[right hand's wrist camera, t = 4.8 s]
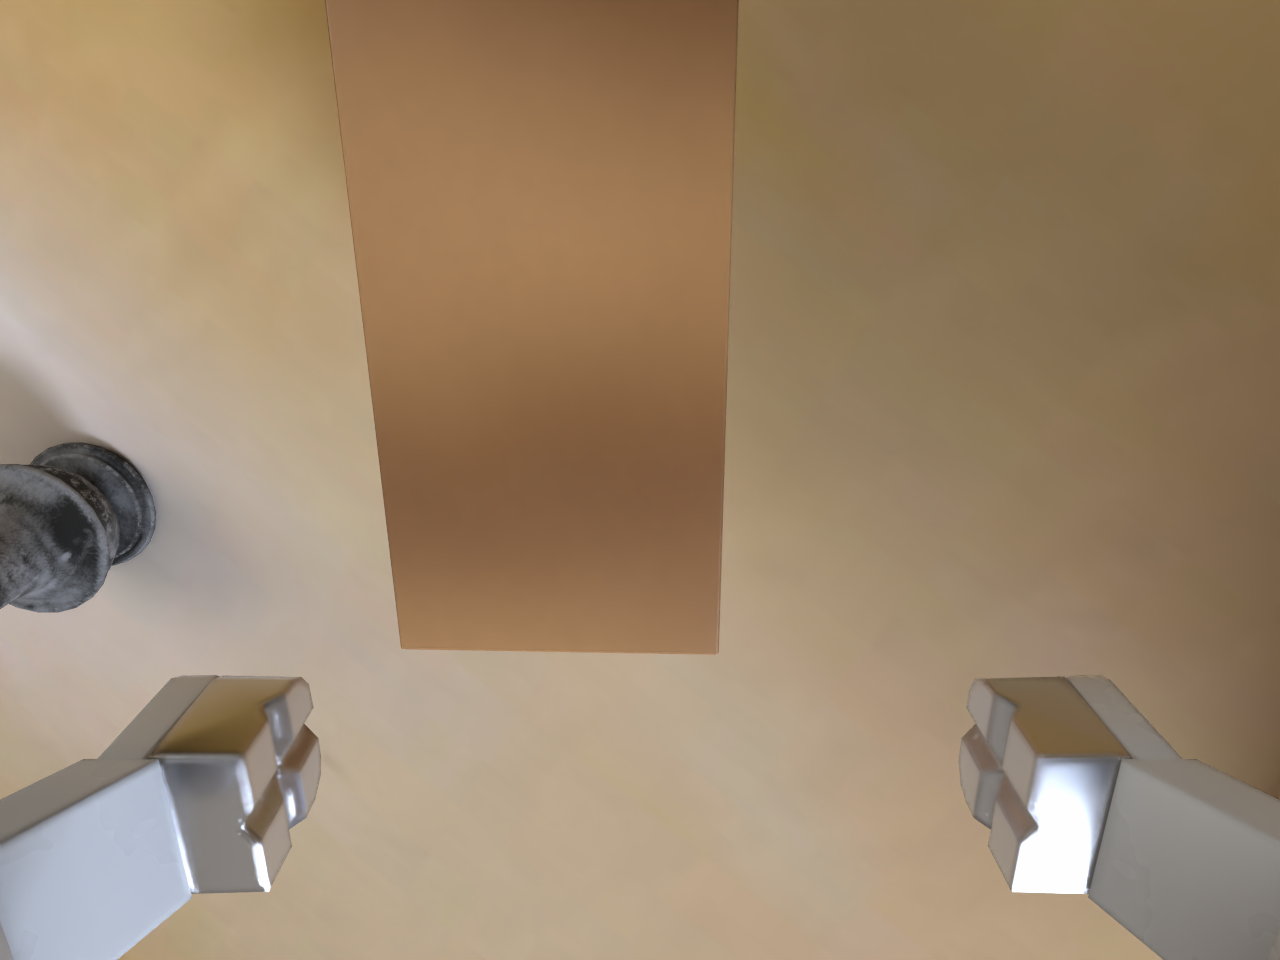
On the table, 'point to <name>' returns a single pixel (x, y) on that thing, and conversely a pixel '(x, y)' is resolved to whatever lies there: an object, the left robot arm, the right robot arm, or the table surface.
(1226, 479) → the table surface
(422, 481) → the box
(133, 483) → the dark grey chess piece
